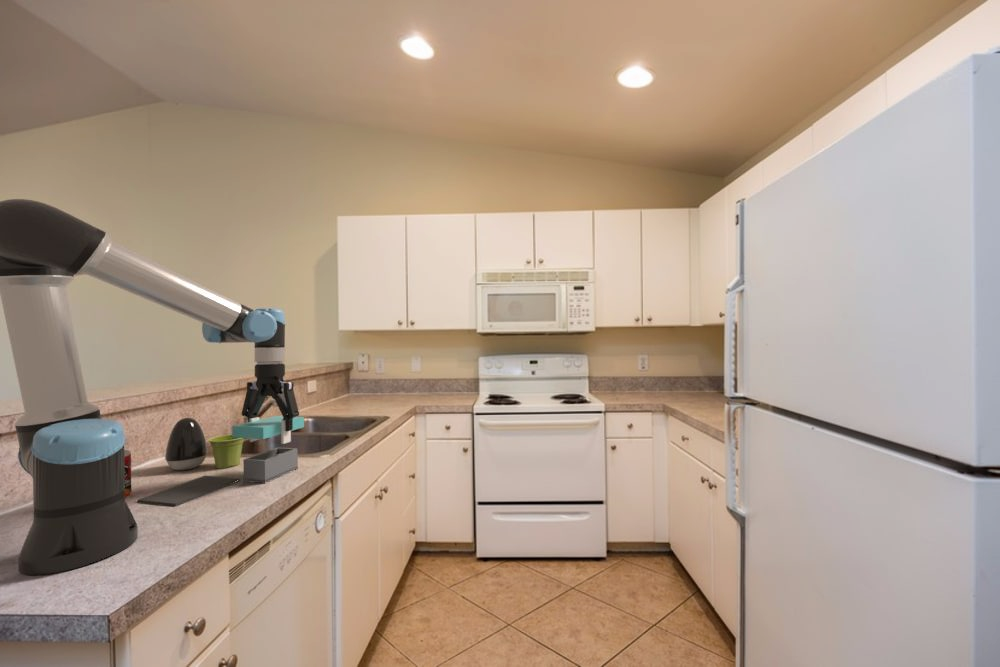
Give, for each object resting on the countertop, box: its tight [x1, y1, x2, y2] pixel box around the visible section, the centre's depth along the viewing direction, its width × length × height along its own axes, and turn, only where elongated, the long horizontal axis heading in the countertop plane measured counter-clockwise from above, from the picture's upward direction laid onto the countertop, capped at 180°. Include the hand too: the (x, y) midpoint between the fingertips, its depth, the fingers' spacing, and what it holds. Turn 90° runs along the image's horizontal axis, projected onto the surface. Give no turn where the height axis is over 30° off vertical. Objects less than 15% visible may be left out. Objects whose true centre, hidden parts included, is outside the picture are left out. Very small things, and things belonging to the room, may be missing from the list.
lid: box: [231, 415, 305, 440], centre depth 114 cm, size 10×15×3 cm, turn 166°
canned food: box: [124, 449, 132, 499], centre depth 99 cm, size 8×8×11 cm
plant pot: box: [208, 433, 245, 469], centre depth 124 cm, size 9×9×9 cm
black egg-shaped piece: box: [164, 417, 208, 471], centre depth 123 cm, size 10×10×15 cm
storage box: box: [242, 447, 299, 483], centre depth 114 cm, size 7×12×6 cm, turn 166°
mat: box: [136, 475, 240, 507], centre depth 103 cm, size 17×12×1 cm
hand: (270, 441), depth 114 cm, fingers closed on lid, 10 cm apart
